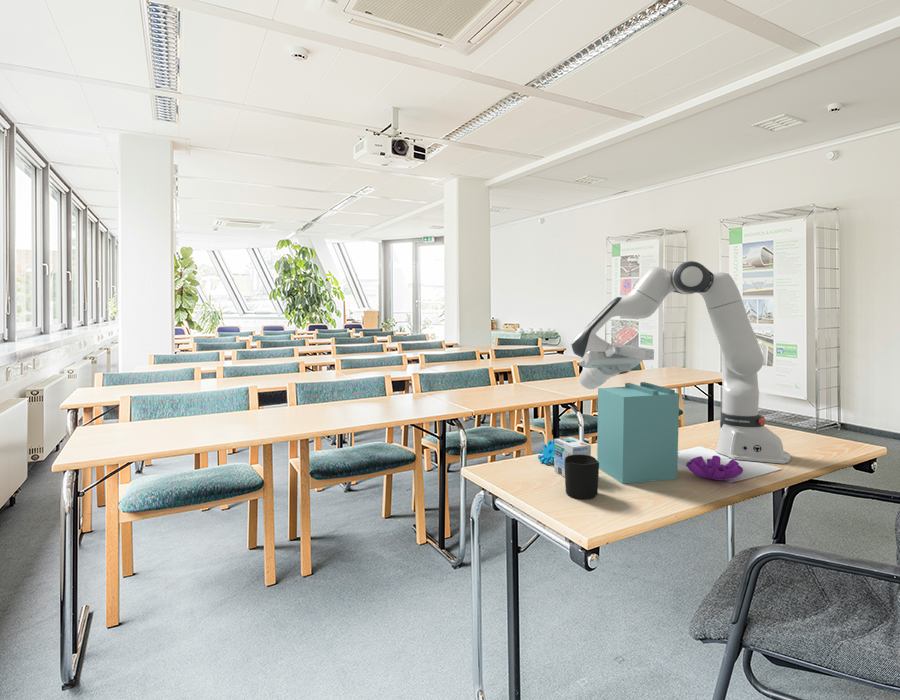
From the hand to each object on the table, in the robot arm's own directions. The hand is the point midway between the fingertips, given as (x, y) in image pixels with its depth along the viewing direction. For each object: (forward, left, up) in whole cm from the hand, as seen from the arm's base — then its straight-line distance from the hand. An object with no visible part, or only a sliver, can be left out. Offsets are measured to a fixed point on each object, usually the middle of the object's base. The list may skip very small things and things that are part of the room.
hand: (623, 348), depth 172 cm
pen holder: (+1, +35, -38) cm, 52 cm away
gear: (+20, +12, -39) cm, 45 cm away
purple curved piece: (-29, +1, -38) cm, 48 cm away
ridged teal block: (-7, +8, -38) cm, 40 cm away
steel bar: (-4, +4, -2) cm, 6 cm away
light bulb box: (+9, +21, -38) cm, 45 cm away
